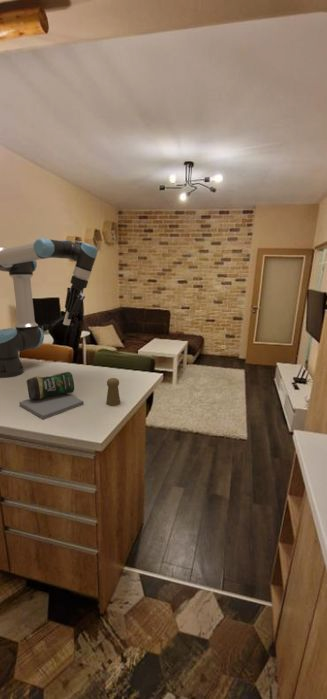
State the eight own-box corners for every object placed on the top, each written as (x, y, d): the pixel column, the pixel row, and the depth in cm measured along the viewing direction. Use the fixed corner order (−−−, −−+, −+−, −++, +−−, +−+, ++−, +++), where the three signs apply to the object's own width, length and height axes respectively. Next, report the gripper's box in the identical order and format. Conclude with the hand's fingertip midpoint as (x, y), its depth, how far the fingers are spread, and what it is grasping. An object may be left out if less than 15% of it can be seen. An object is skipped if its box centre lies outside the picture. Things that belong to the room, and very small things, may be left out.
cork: (106, 400, 135) (106, 376, 133) (120, 400, 136) (120, 376, 133) (105, 406, 129) (105, 381, 127) (120, 405, 130) (119, 381, 127)
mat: (19, 405, 127) (19, 402, 127) (59, 393, 141) (59, 390, 141) (43, 419, 116) (42, 415, 116) (83, 404, 130) (83, 401, 130)
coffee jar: (76, 391, 135) (32, 401, 124) (70, 392, 141) (27, 401, 130) (72, 370, 136) (28, 377, 124) (66, 371, 142) (23, 378, 131)
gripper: (94, 283, 141) (79, 330, 147) (80, 275, 149) (66, 320, 155) (80, 279, 135) (65, 328, 141) (66, 271, 144) (52, 318, 149)
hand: (66, 324), depth 148 cm, fingers closed
